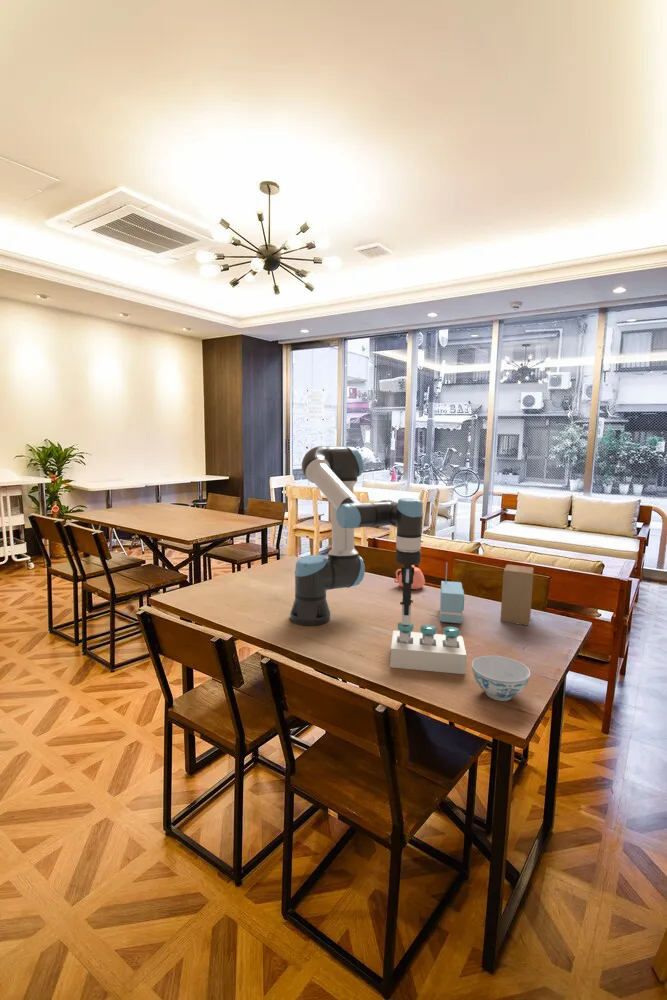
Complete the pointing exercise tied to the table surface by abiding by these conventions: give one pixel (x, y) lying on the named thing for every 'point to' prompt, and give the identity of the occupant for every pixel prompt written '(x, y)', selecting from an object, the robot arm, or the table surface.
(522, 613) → the wooden block
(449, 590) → the radio
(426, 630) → the knob mid
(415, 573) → the pink teapot
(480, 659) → the chinaware
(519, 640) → the table surface
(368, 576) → the table surface
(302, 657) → the table surface
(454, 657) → the mount
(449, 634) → the knob
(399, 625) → the knob
